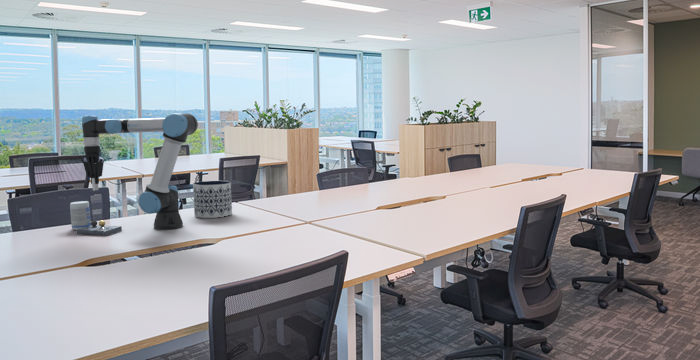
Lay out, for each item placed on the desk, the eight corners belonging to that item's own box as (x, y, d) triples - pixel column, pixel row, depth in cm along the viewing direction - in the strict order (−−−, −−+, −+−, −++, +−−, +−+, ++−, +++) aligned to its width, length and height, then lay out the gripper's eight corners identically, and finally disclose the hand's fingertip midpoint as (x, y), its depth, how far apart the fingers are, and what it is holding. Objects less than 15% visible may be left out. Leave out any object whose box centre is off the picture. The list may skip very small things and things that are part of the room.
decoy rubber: (98, 225, 286) (98, 219, 286) (94, 226, 283) (94, 221, 282) (93, 225, 287) (93, 219, 286) (89, 226, 284) (89, 220, 283)
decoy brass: (106, 226, 285) (106, 220, 284) (102, 227, 282) (102, 221, 281) (101, 225, 285) (101, 220, 285) (97, 227, 282) (97, 221, 282)
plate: (121, 230, 284) (121, 226, 283) (106, 235, 272) (105, 230, 272) (93, 229, 288) (92, 225, 288) (76, 234, 277) (76, 229, 276)
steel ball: (108, 227, 279) (102, 226, 279) (103, 228, 275) (98, 227, 276) (107, 233, 279) (102, 232, 280) (103, 234, 276) (98, 233, 277)
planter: (227, 218, 315) (225, 184, 313) (189, 219, 315) (187, 185, 313) (235, 212, 337) (234, 180, 335) (200, 212, 338) (199, 180, 335)
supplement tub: (92, 229, 289) (90, 202, 288) (72, 231, 284) (70, 204, 283) (89, 226, 298) (87, 200, 296) (70, 228, 292) (68, 202, 291)
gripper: (107, 144, 281) (111, 189, 284) (86, 145, 284) (90, 189, 287) (97, 145, 274) (101, 191, 276) (76, 146, 277) (80, 191, 280)
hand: (95, 190), depth 282 cm, fingers closed
